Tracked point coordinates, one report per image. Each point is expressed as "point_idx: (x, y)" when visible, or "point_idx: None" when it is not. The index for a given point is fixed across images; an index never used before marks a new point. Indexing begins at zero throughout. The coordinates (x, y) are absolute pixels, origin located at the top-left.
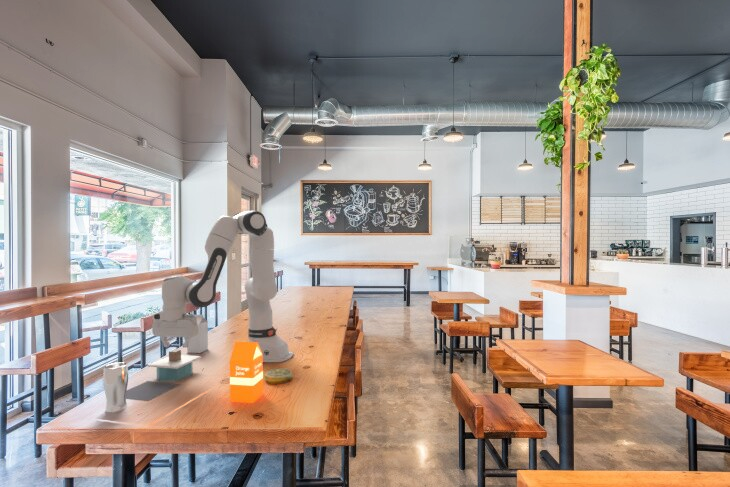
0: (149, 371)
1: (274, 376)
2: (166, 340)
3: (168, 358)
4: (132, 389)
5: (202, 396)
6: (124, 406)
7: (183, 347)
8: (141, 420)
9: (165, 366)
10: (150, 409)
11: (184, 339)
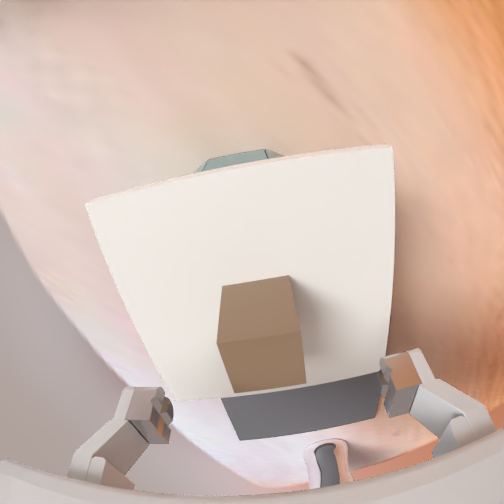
0: (48, 247)
1: None
2: (122, 439)
3: (162, 295)
4: (239, 405)
5: (497, 329)
6: (347, 450)
7: (382, 378)
8: (418, 436)
9: (302, 384)
10: (406, 419)
11: (433, 450)
